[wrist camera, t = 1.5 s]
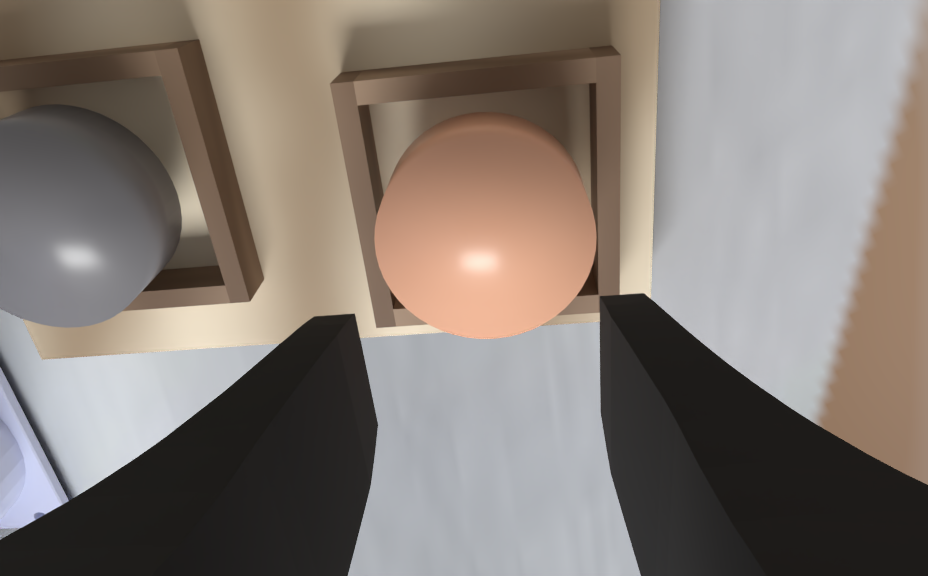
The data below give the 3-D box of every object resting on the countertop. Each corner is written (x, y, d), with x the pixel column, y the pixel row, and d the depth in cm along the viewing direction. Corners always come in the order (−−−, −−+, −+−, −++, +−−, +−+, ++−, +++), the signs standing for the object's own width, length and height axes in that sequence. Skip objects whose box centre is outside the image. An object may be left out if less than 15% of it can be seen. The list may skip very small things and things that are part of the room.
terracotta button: (401, 304, 16) (392, 345, 15) (371, 121, 14) (356, 147, 13) (587, 290, 16) (597, 331, 14) (583, 102, 14) (594, 125, 12)
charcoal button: (31, 294, 17) (-18, 333, 15) (-52, 114, 15) (-118, 138, 13) (204, 281, 16) (173, 320, 15) (145, 94, 14) (102, 116, 13)
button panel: (79, 322, 21) (15, 384, 18) (-230, -396, 13) (-422, -478, 11) (636, 282, 20) (659, 343, 17) (651, -543, 12) (700, -683, 9)
